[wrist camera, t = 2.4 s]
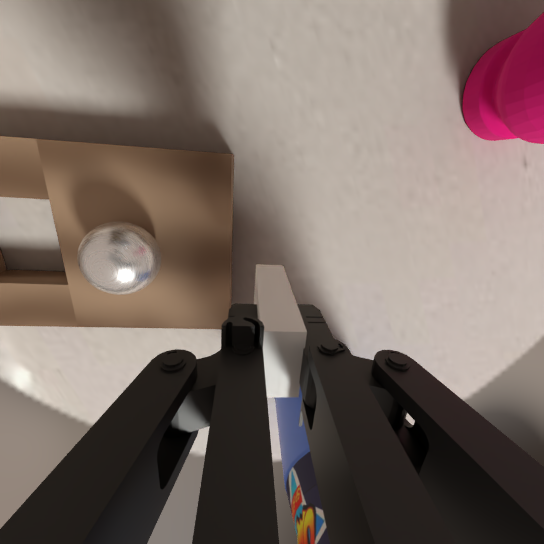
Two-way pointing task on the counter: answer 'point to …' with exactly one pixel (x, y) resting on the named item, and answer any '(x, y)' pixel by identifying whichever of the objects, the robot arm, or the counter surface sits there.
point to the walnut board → (133, 209)
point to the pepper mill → (509, 89)
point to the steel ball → (119, 258)
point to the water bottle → (300, 473)
